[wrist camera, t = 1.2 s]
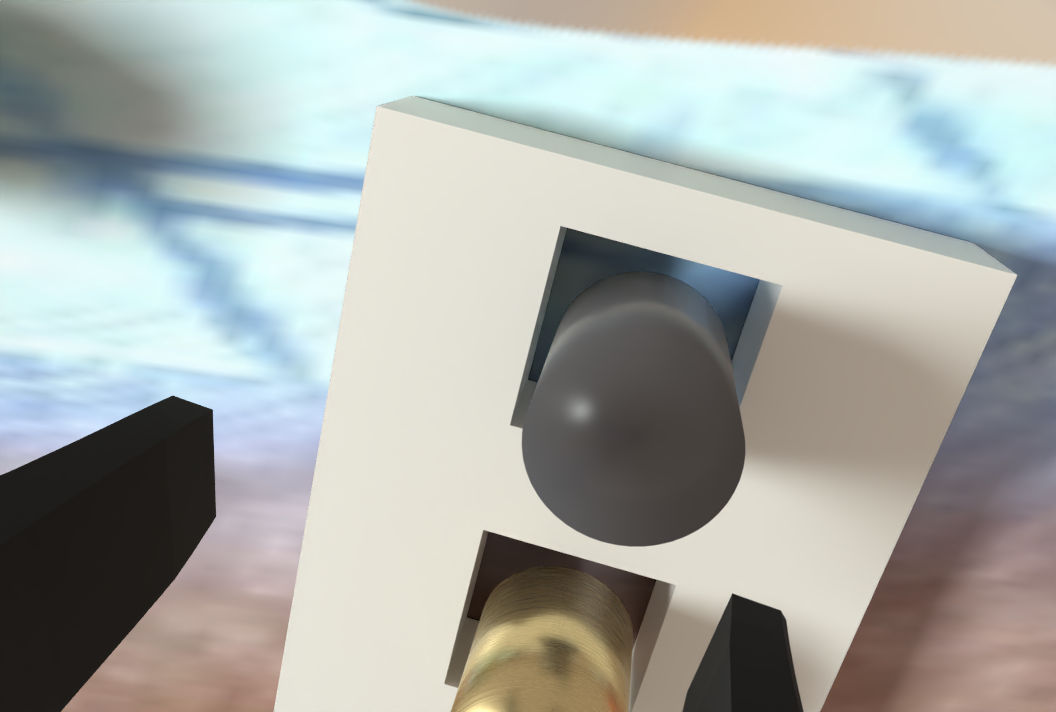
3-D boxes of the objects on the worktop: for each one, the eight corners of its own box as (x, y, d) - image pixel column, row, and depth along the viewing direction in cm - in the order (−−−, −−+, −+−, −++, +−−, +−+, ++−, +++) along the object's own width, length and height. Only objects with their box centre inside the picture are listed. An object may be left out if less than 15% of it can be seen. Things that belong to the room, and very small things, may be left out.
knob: (698, 454, 22) (705, 571, 17) (535, 409, 22) (500, 512, 17) (752, 298, 20) (776, 380, 16) (577, 251, 21) (550, 317, 16)
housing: (681, 925, 31) (682, 1015, 28) (282, 803, 31) (245, 879, 29) (973, 242, 22) (1017, 274, 19) (412, 95, 23) (376, 105, 20)
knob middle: (610, 712, 25) (596, 872, 20) (467, 669, 25) (420, 818, 20) (651, 591, 23) (646, 733, 19) (499, 547, 24) (457, 677, 19)
